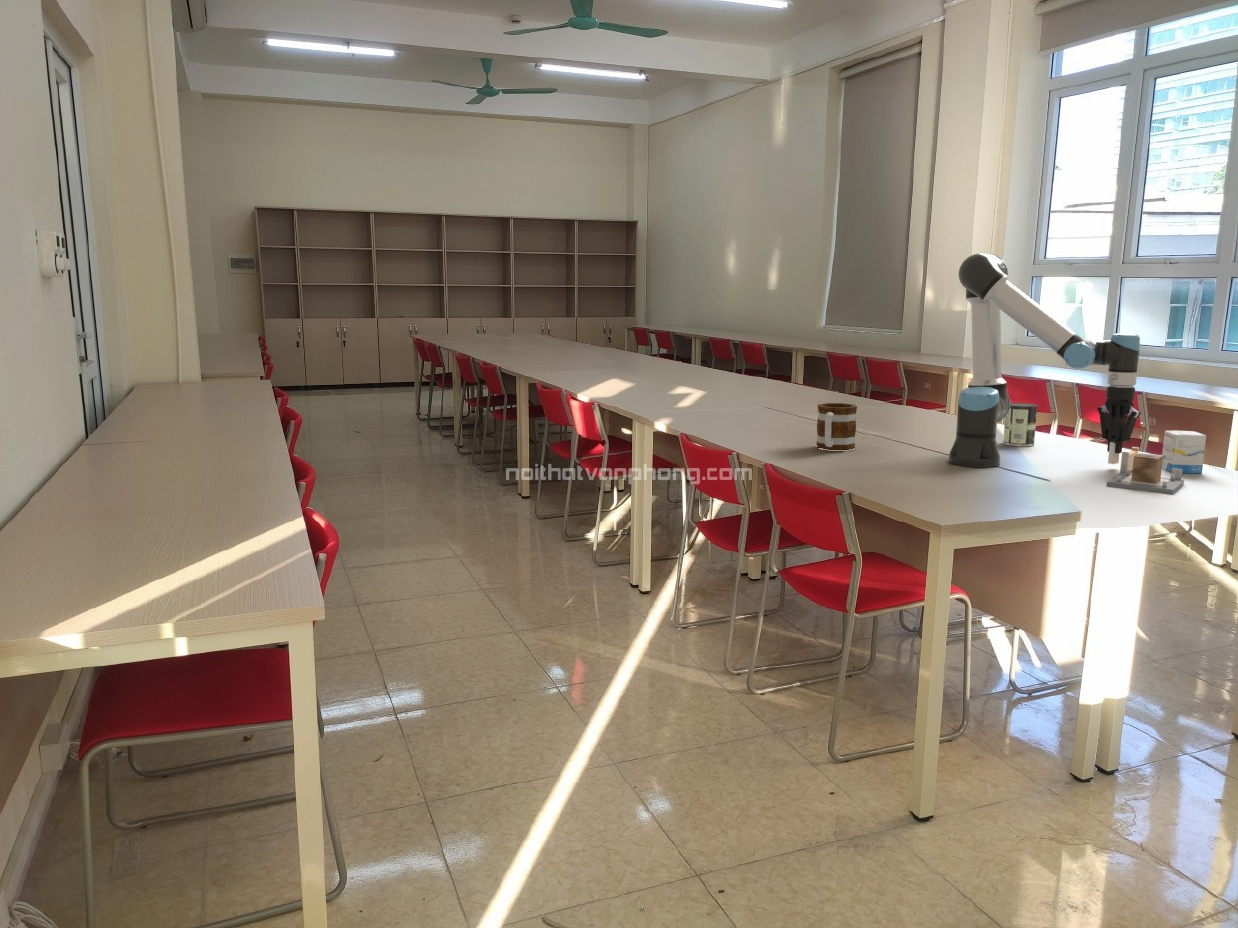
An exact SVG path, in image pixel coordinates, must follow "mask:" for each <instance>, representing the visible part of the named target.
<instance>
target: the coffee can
mask: <svg viewBox="0 0 1238 928" xmlns="http://www.w3.org/2000/svg"><path fill="white" fill-rule="evenodd" d="M1038 407H1039V405H1038V404H1035V403H1027V402H1010V408H1009V411H1008V413H1007V415H1006V416H1005V417H1004V424H1003V425H1004V427H1003V437H1002V438H1003V439H1002V444H1003V445H1006V446H1010V447H1034V446H1035V435H1036V424H1037V414H1038V413H1037V412H1038Z"/></svg>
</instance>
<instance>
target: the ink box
mask: <svg viewBox="0 0 1238 928" xmlns="http://www.w3.org/2000/svg"><path fill="white" fill-rule="evenodd" d="M1206 441H1207V435H1206V434H1203V433H1200V432H1197V431H1193V430H1192V431H1191V430H1164V436H1163V445H1162V453H1161V455H1163V461H1162V470H1165V471H1167V472H1169V473H1171V474H1172V468H1174V469H1182V474H1200V473H1202V474H1203V467H1204V466H1203V465H1204V458H1205V450H1206V449H1205V448H1206V443H1207V442H1206Z"/></svg>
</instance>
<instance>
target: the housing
mask: <svg viewBox="0 0 1238 928" xmlns="http://www.w3.org/2000/svg"><path fill="white" fill-rule="evenodd" d="M1129 452H1130V451H1129ZM1129 452H1128V451H1122V452H1121V460H1120V468H1119V473H1118V474H1116V475H1114V476H1113V477H1112V478H1110V479H1109V480H1107V481H1106V486H1107V487H1114V488H1121V489H1128V490H1129V489H1130V490H1136V491H1142V492H1143V491H1145V492H1153V493H1160V494H1168V495H1174V494H1175V493H1176V492H1177V491H1178V490H1179V489H1180V488H1182V486H1183V485H1184V484H1185V479H1182V475H1183V473H1182V469H1174V468H1172V473H1171V474H1170V477H1162V476H1161V478H1160V481H1159V482H1157V483H1156V484H1154V483H1146V482H1138V481H1131V478H1132V473H1131V472H1132V471H1131V470H1127V468H1128V459H1129ZM1130 471H1131V472H1130Z"/></svg>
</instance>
